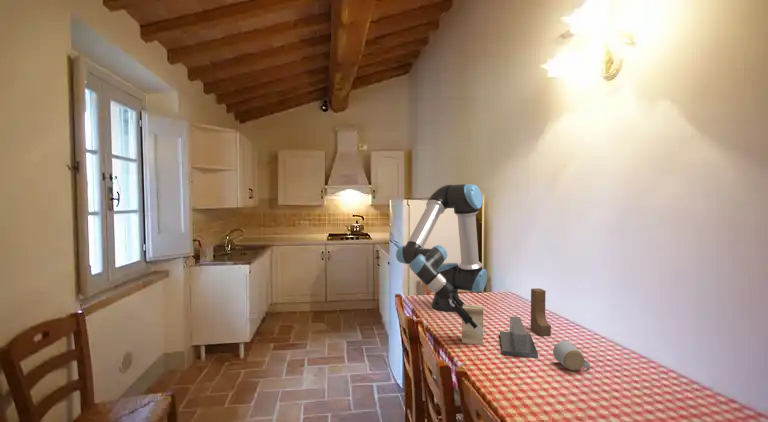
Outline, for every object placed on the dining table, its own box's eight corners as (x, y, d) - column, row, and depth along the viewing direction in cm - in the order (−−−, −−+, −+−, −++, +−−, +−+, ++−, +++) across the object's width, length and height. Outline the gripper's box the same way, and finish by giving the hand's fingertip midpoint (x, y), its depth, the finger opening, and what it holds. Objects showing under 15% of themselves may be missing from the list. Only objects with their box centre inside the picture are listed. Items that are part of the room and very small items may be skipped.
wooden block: (551, 336, 163) (551, 292, 163) (540, 336, 163) (541, 293, 162) (539, 328, 172) (540, 288, 172) (530, 329, 171) (530, 288, 171)
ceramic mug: (563, 372, 129) (564, 349, 129) (552, 361, 137) (553, 340, 137) (595, 372, 129) (596, 349, 129) (582, 362, 137) (582, 340, 137)
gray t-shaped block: (499, 334, 164) (499, 315, 164) (530, 337, 162) (530, 317, 161) (502, 354, 143) (503, 333, 143) (537, 357, 140) (538, 335, 140)
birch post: (462, 338, 160) (462, 304, 159) (482, 340, 158) (483, 305, 157) (461, 343, 155) (462, 307, 154) (482, 344, 153) (483, 309, 153)
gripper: (436, 288, 168) (475, 329, 165) (431, 298, 151) (475, 344, 147) (448, 276, 167) (488, 317, 163) (445, 285, 149) (489, 332, 146)
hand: (482, 330), depth 155 cm, fingers closed on birch post, 5 cm apart
